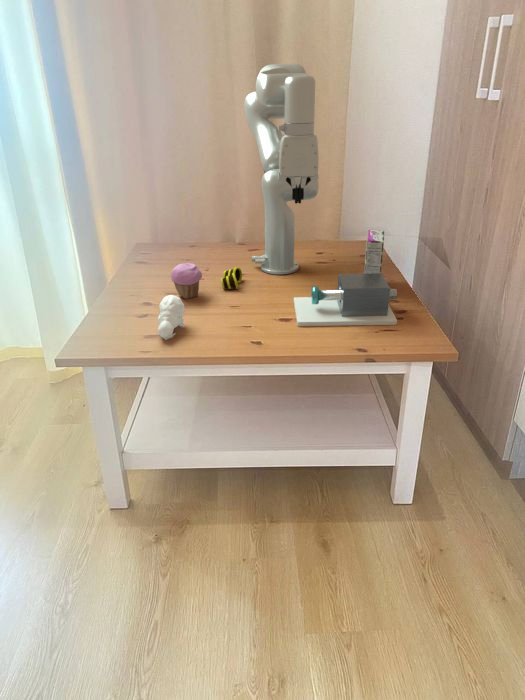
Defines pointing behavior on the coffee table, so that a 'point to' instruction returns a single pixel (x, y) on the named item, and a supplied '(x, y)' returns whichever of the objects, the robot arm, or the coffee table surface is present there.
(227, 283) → the opera glasses
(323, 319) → the mounting board
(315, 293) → the steel shaft
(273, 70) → the robot arm
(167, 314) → the white figurine
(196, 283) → the cupcake
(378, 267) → the candy bar box
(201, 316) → the coffee table surface
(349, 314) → the shaft housing
